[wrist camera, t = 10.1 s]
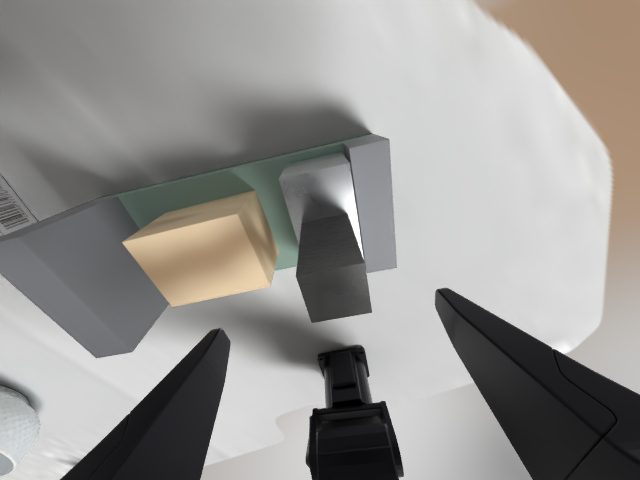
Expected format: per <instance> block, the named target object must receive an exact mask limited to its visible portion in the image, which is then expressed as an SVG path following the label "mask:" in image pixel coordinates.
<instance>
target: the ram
mask: <svg viewBox="0 0 640 480" xmlns="http://www.w3.org/2000/svg"><path fill="white" fill-rule="evenodd" d="M279 182H280V185H281V189H282V192H283V195H284V198H285V202H286V205H287V208H288V212H289V215H290V218H291V221H292V225H293V228H294V231H295V235H296V238H297V241H298V244H299V251H298V261H297V271H296V278H297V281H298V284H299V287H300V290H301V292H302V295H303V298H304V301H305V304H306V307H307V310H308V313H309V316H310V319H311V322H312V323H314V322H320V321H326V320H331V319H337V318H343V317H349V316H354V315H360V314H366V313H372V309H371V302H370V296H369V289H368V282H367V275H366V268H365V262H364V257H363V251H362V244H361V237H360V230H359V223H358V216H357V209H356V203H355V196H354V189H353V182H352V175H351V168H350V163H349V161H348V160H347V159H346V157H345V156H344V155H343V153H342V152H337V153H333V154H329V155H324V156H320V157H316V158H311V159H307V160H303V161H298V162H294V163H290V164H286V166H285V168H284V170H283V172H282V174H281V176H280V178H279Z"/></svg>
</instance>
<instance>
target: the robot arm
mask: <svg viewBox="0 0 640 480" xmlns="http://www.w3.org/2000/svg"><path fill="white" fill-rule="evenodd" d="M435 307H436V310H437V312H438V314H439V317H440V319H441V321H442V323H443V325H444V327H445V330H446V332H447V334H448V336H449V338H450V340H451V342H452V344H453V347H454V348H455V350H456V352H457V354H458V355H459V357H460V359H461V360H462V362H463V364H464V365H465V367H466V369H467V370H468V372H469V374H470V375H471V377H472V379H473V380H474V382H475V384H476V385H477V387H478V389H479V390H480V392H481V394H482V395H483V397H484V399H485V400H486V402H487V404H488V405H489V407H490V409H491V410H492V412H493V414H494V416H495V417H496V419H497V421H498V422H499V424H500V426H501V427H502V429H503V431H504V432H505V434H506V436H507V437H508V439H509V440H510V442H511V444H512V446H513V447H514V449H515V451H516V452H517V454H518V455H519V457H520V459H521V461H522V462H523V464H524V466H525V467H526V469H527V471H528V472H529V474H530V476H531V477H532V479H533V480H640V395H639V394H638V393H635V392H633V391H632V390H630V389H628V388H626V387H624V386H622V385H620V384H618V383H616V382H614V381H612V380H610V379H608V378H606V377H604V376H602V375H600V374H599V373H597V372H595V371H593V370H591V369H589V368H587V367H586V366H584V365H582V364H580V363H578V362H576V361H575V360H573V359H571V358H569V357H568V356H566V355H564V354H562V353H561V352H559V351H557V350H555V349H552V348H551V347H550V346H548V345H546V344H545V343H543V342H541V341H539V340H538V339H536V338H534V337H532V336H531V335H529V334H527V333H526V332H524V331H522V330H520V329H519V328H517V327H515V326H513V325H512V324H510V323H508V322H506V321H505V320H503V319H501V318H499V317H498V316H496V315H494V314H492V313H491V312H489V311H487V310H485V309H484V308H482V307H480V306H478V305H477V304H475V303H473V302H471V301H470V300H468V299H466V298H464V297H463V296H461V295H459V294H457V293H456V292H454V291H452V290H450V289H449V288H442V289H437V290H436V293H435ZM229 351H230V340H229V338H228V337H227V335H226V334H225V332H224V330H223V329H221V328H219V329H214V330H211V331H210V332H209V333H208V334H207V335H206V336H205V337H204V338H203V339H202V340H201V341H200V342H199V343H198V344H197V345H196V346H195V347H194V348H193V349H192V350H191V351H190V352H189V353H188V354H187V355H186V356H185V357H184V358H183V359H182V360H181V361H180V362H179V363H178V364H177V365H176V366H175V367H174V368H173V369H172V370H171V371H170V372H169V374H168V375H167V376H166V377H165V378H164V379H163V380H162V381H161V382H160V383H159V384H158V385H157V386H156V387H155V388H154V389H153V390H152V391H151V392H150V393H149V394H148V395H147V396H146V397H145V398H144V399H143V400H142V401H141V402H140V403H139V404H138V405H137V406H136V407H135V408H134V409H133V410H132V411H131V412H130V414H128V415H127V416H126V417H125V418H124V419H123V420H122V421H121V422H120V423H119V424H118V425H117V426H116V427H115V428H114V429H113V430H112V431H111V432H110V433H109V434H108V435H107V436H106V437H105V438H104V439H103V440H102V441H101V442H100V443H99V444H98V445H97V446H96V447H95V448H93V449H92V450H91V451H90V452H89V453H88V454H87V455H86V456H85V457H84V458H83V459H82V460H81V461H80V462H79V463H78V464H76V465H75V466H74V467H73V468H72V469H71V470H70V471H69V472H68V473H67V474H66V475H65V476H63V477H62V478H61V479H60V480H200V478H201V474H202V470H203V466H204V462H205V458H206V454H207V450H208V447H209V443H210V439H211V435H212V431H213V427H214V423H215V419H216V415H217V411H218V407H219V403H220V399H221V395H222V391H223V387H224V383H225V377H226V371H227V364H228V358H229ZM318 362H319V365H320V368H321V370H322V373H323V376H324V379H325V399H326V408H323V409H317V408H314V409H313V413H312V416H311V417H310V431H309V440H308V447H307V452H306V464H307V465H308V467H309V468H310V472H311V475H312V480H399V478H398V477H403V476H404V473H403V466H402V461H401V455H400V451H399V447H398V443H397V439H396V435H395V432H394V429H393V425H392V422H391V419H390V416H389V412H388V409H387V406H386V402H385V401H381V402H379V403H372V398H371V394H370V389H369V384H368V379H367V377H369V370H368V365H367V360H366V354H365V349H364V348H355V349H349V350H342V351H336V352H330V353H324V354H319V355H318Z"/></svg>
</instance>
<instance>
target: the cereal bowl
mask: <svg viewBox="0 0 640 480" xmlns="http://www.w3.org/2000/svg"><path fill="white" fill-rule="evenodd" d="M28 404H29V403H28V400H27V399H26V398H25V397H24V396H23V395H22V394H20V393H19V392H17V391H15V390H12V389H10V388H7V387H4V386H1V385H0V477H3V476H6V475H8V474H10V473H12V472H13V471H14V470H15V469H16V468H17V467H18V466H19V464H20V463H21V462H22V461H23V459H24V458H25V457H26V455H27V454H28V452H29V451H30V450H31V448H32V446H33V445H34V443H35V442H36V439H37V438H38V434H39V430H40V421H39V417H38V416H37V414H36V412H35V411H34V410H33V409H32V408H31V407H30V406H29V405H28Z"/></svg>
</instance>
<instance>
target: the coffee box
mask: <svg viewBox="0 0 640 480" xmlns="http://www.w3.org/2000/svg"><path fill="white" fill-rule="evenodd" d="M37 222H38V221H37V220H36V219H35V218H34V216H33V215H32V214H31V213H30V211H29V210H28V209H27V207H26V206H25V205H24V204H23V202H22V201H21V200H20V199H19V197H18V196H17V195H16V193H15V192H14V191H13V190H12V189H11V187H10V186H9V185H8V183H7V182H6V181H5V180H4V178H3V177H2V176H1V175H0V237H1V236H4V235H6V234H9V233H11V232H14V231H16V230H19V229H21V228H24V227H27V226H29V225H32V224H34V223H37Z"/></svg>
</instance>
